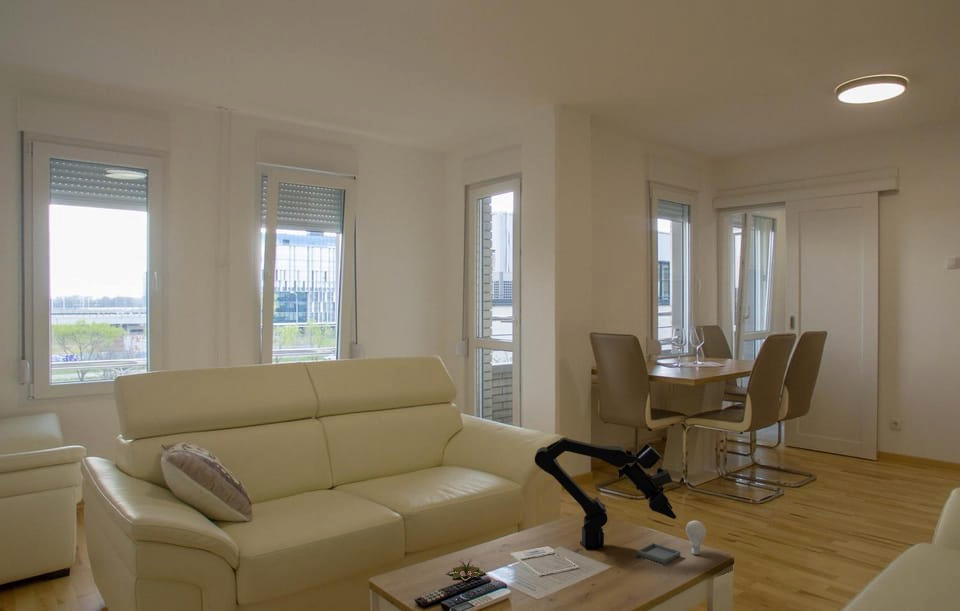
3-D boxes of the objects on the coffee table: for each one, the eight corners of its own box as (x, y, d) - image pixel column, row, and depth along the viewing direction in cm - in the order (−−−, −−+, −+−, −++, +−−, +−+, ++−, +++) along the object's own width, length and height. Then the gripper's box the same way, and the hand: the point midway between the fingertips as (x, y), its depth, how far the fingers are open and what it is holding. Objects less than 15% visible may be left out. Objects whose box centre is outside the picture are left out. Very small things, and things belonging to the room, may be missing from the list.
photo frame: (548, 545, 206) (579, 566, 190) (548, 549, 206) (579, 569, 190) (510, 552, 199) (538, 574, 183) (509, 556, 199) (538, 578, 183)
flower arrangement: (466, 588, 176) (466, 572, 176) (437, 575, 184) (438, 560, 184) (494, 575, 184) (494, 560, 185) (466, 564, 193) (466, 549, 193)
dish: (664, 565, 192) (664, 559, 192) (636, 556, 200) (636, 550, 200) (680, 557, 199) (680, 551, 199) (652, 548, 207) (652, 542, 207)
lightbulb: (706, 552, 203) (706, 519, 203) (704, 559, 197) (705, 525, 198) (686, 549, 206) (686, 516, 206) (684, 556, 200) (684, 522, 200)
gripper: (660, 469, 195) (696, 506, 193) (654, 455, 213) (687, 489, 211) (634, 492, 196) (670, 529, 194) (630, 476, 215) (663, 510, 213)
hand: (673, 513), depth 203 cm, fingers open, 9 cm apart
